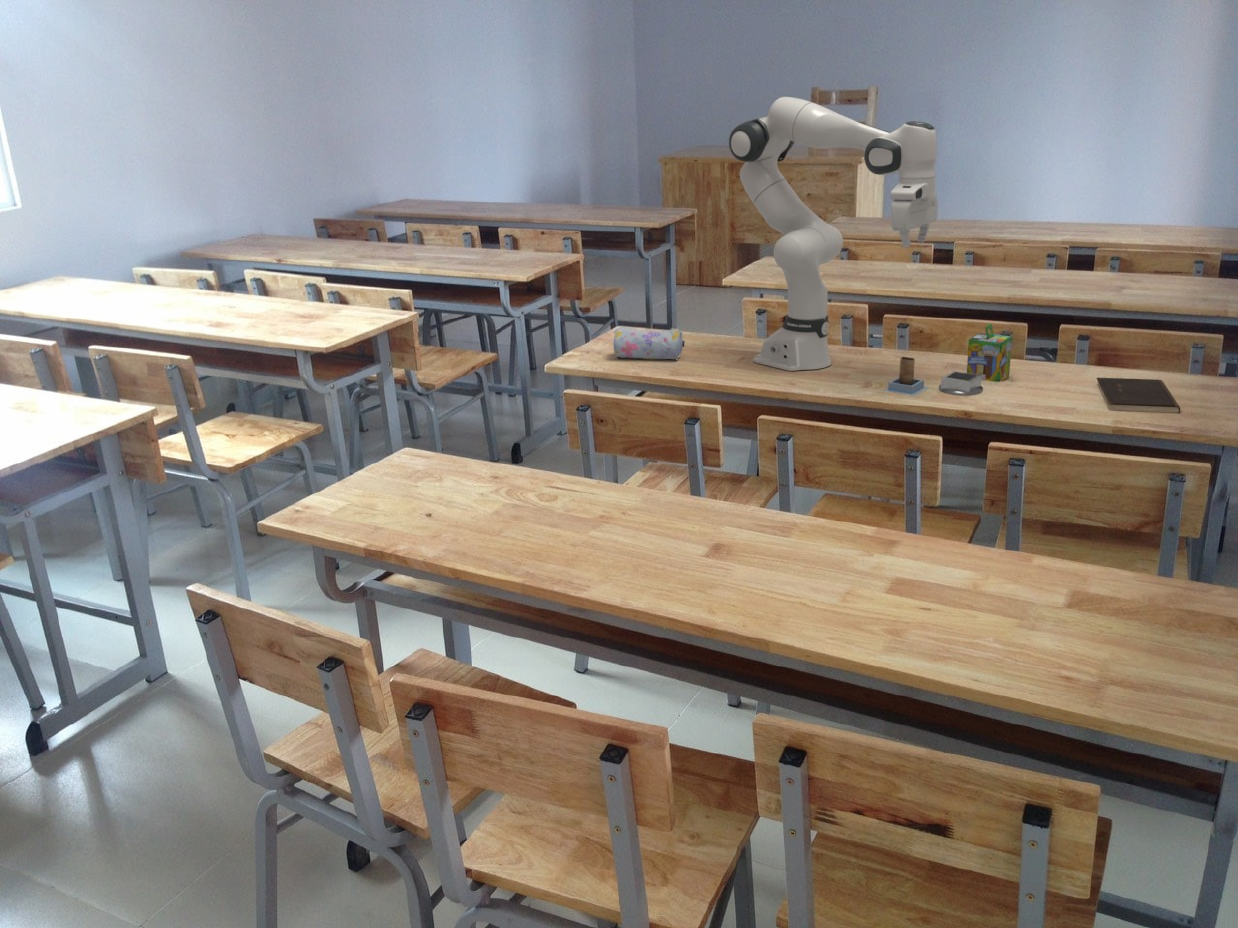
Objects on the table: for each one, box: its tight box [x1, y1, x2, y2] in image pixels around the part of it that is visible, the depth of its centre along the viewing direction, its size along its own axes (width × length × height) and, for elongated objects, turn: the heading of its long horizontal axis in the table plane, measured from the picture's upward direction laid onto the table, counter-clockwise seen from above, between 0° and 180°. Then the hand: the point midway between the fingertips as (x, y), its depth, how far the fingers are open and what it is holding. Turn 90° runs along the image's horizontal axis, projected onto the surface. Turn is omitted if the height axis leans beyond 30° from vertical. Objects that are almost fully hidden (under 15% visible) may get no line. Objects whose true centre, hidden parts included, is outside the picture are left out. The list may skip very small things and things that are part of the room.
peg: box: [898, 356, 916, 386], centre depth 282 cm, size 4×4×8 cm
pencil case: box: [613, 326, 685, 360], centre depth 324 cm, size 21×9×10 cm, turn 77°
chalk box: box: [966, 323, 1013, 383], centre depth 290 cm, size 9×9×15 cm
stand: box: [882, 376, 930, 397], centre depth 283 cm, size 9×9×3 cm
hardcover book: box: [1096, 377, 1181, 414], centre depth 272 cm, size 16×23×2 cm
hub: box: [938, 370, 984, 397], centre depth 281 cm, size 11×11×4 cm
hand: (913, 244), depth 277 cm, fingers open, 8 cm apart
